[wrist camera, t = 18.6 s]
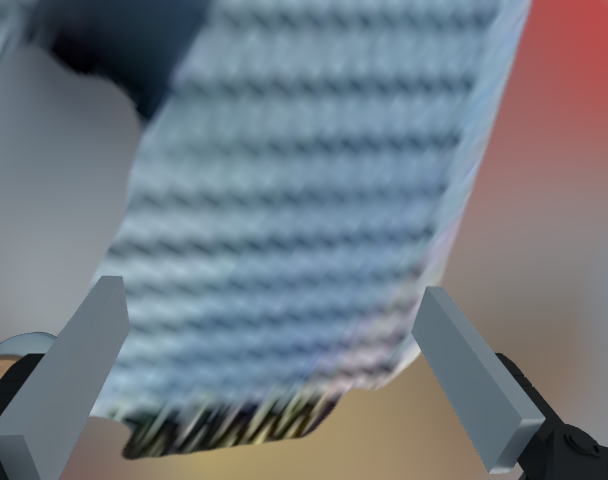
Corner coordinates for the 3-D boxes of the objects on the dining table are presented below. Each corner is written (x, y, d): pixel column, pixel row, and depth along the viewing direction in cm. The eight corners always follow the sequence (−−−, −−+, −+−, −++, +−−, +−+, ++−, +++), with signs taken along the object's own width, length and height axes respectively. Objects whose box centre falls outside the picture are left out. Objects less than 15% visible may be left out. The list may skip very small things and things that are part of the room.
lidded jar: (29, 308, 50) (-16, 357, 42) (95, 346, 55) (66, 397, 46) (-11, 347, 53) (-62, 401, 44) (55, 381, 57) (20, 435, 49)
